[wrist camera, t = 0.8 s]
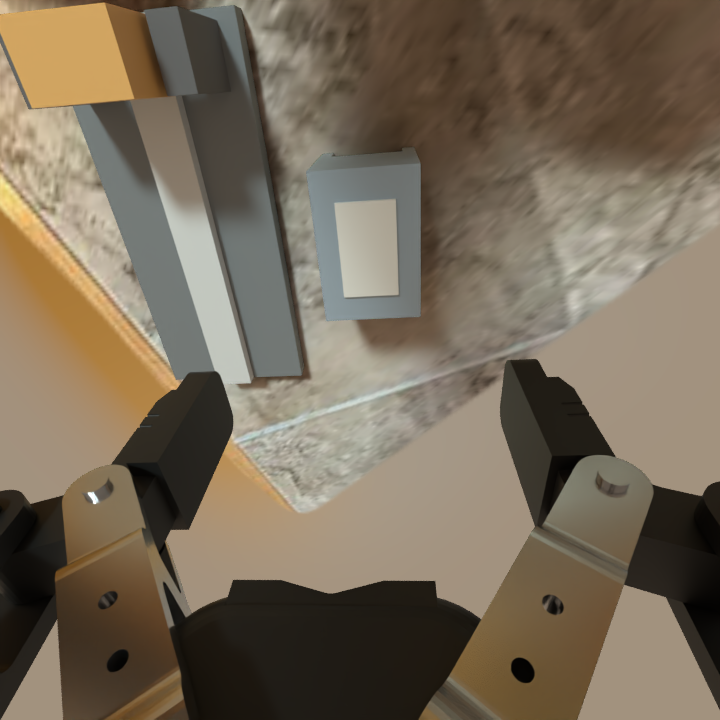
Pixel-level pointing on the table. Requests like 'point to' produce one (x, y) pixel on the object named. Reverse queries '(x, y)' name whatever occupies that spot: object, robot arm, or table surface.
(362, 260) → the rail module
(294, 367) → the rail mount
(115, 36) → the button
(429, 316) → the table surface
